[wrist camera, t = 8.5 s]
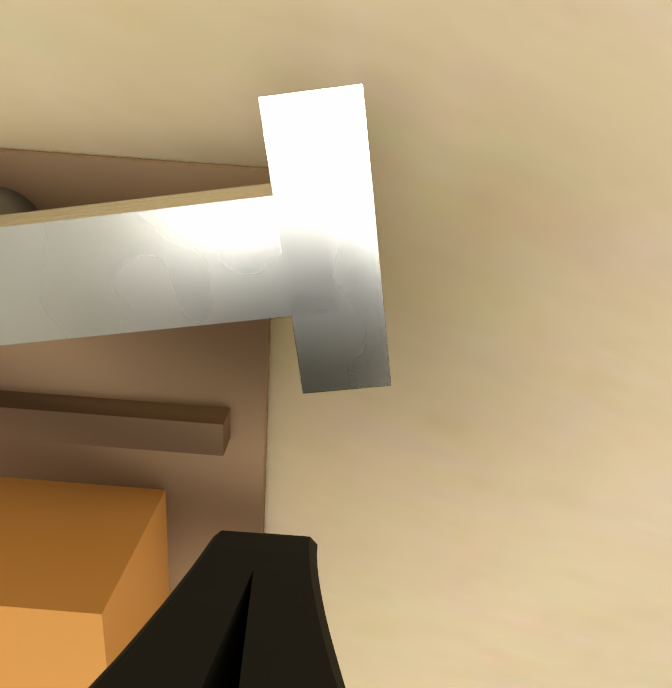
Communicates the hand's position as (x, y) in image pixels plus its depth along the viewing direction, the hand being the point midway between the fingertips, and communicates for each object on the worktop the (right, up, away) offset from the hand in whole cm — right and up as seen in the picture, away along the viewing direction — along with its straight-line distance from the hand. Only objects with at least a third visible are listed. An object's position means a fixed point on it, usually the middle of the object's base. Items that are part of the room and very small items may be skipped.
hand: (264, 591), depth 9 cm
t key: (-4, +5, +2) cm, 7 cm away
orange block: (-8, -3, +11) cm, 14 cm away
